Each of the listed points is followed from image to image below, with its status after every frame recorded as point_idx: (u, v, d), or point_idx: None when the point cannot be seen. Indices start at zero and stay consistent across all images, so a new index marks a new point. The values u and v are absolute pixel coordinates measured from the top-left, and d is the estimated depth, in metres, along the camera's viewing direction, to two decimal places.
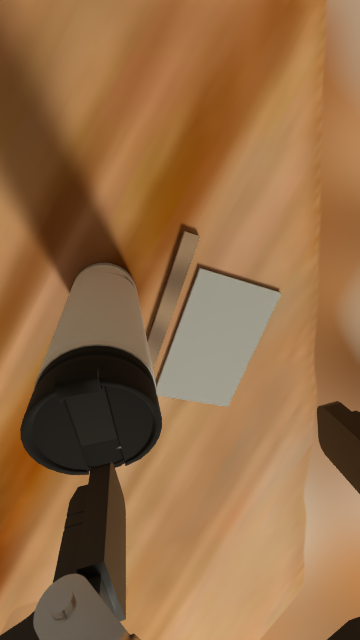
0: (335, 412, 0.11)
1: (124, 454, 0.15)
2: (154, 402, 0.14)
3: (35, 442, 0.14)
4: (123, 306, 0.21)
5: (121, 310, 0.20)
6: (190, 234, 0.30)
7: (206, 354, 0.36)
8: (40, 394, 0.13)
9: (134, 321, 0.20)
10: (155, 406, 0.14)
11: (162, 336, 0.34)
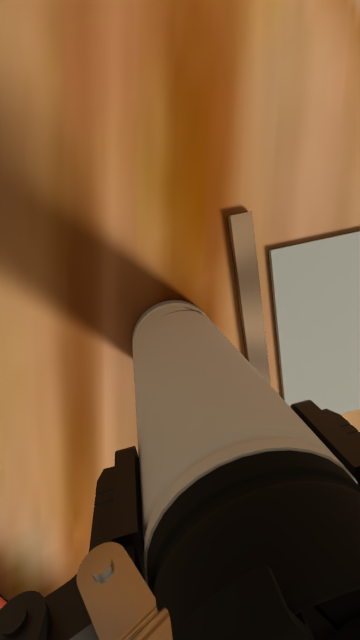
0: (305, 410, 0.11)
1: None
2: None
3: None
4: (212, 353, 0.13)
5: (214, 362, 0.12)
6: (238, 215, 0.22)
7: (329, 351, 0.26)
8: None
9: (241, 370, 0.12)
10: None
11: (264, 355, 0.25)
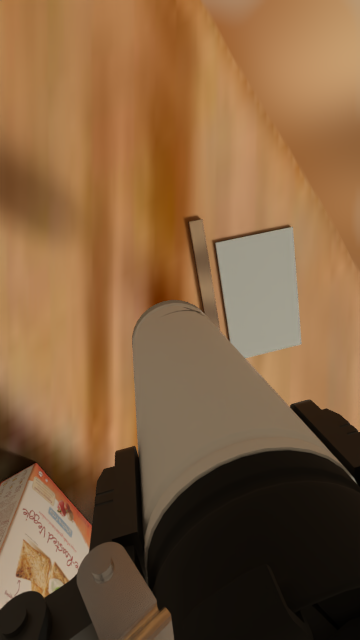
0: (305, 410, 0.11)
1: None
2: None
3: None
4: (212, 354, 0.13)
5: (213, 363, 0.12)
6: (194, 221, 0.37)
7: (257, 308, 0.41)
8: None
9: (241, 370, 0.12)
10: None
11: (215, 310, 0.40)
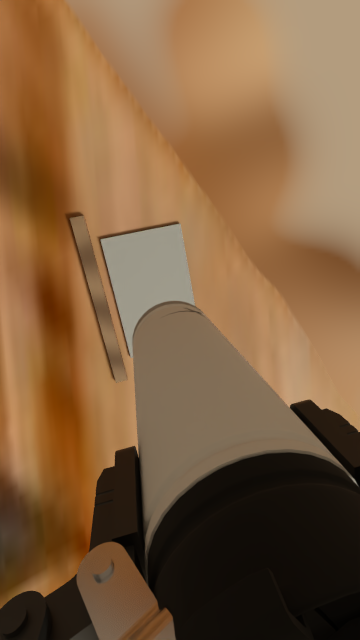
0: (305, 410, 0.11)
1: None
2: None
3: None
4: (212, 355, 0.13)
5: (214, 364, 0.12)
6: (75, 218, 0.37)
7: (151, 305, 0.41)
8: None
9: (242, 371, 0.12)
10: None
11: (105, 306, 0.40)
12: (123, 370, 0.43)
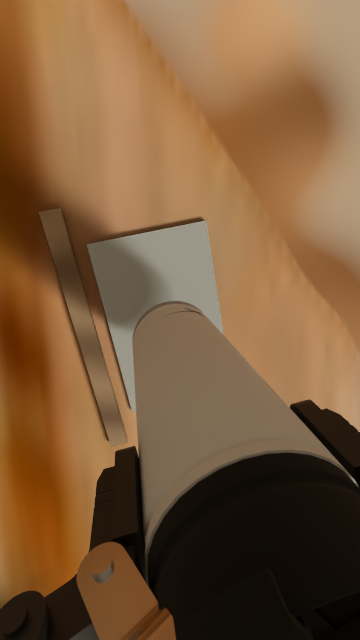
0: (305, 410, 0.11)
1: None
2: None
3: None
4: (212, 355, 0.13)
5: (214, 364, 0.12)
6: (47, 211, 0.24)
7: None
8: None
9: (242, 371, 0.12)
10: None
11: (95, 342, 0.27)
12: (121, 430, 0.30)
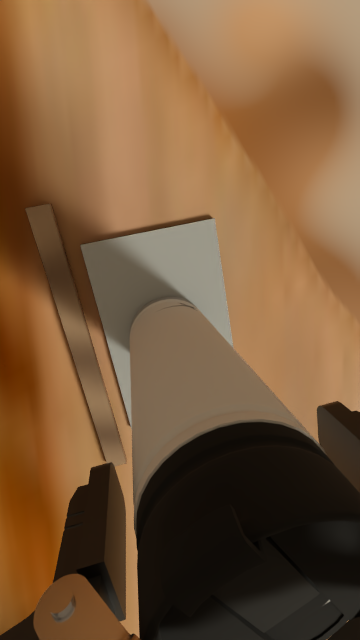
0: (335, 412, 0.11)
1: (345, 612, 0.08)
2: None
3: None
4: (201, 343, 0.14)
5: (202, 351, 0.13)
6: (35, 208, 0.21)
7: None
8: (148, 599, 0.06)
9: (227, 357, 0.13)
10: None
11: (91, 354, 0.24)
12: (120, 449, 0.27)
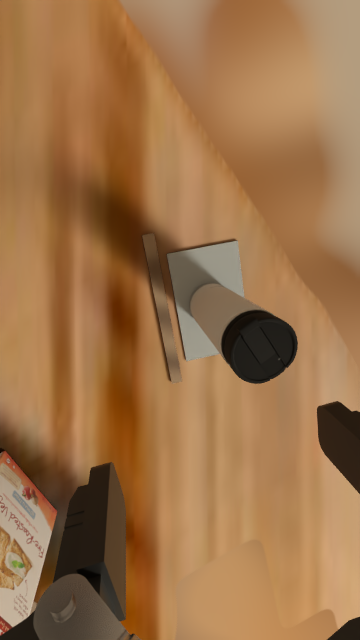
0: (335, 412, 0.11)
1: (283, 361, 0.27)
2: (286, 323, 0.26)
3: (238, 369, 0.27)
4: (236, 296, 0.34)
5: (237, 298, 0.33)
6: (146, 235, 0.41)
7: None
8: (232, 340, 0.26)
9: (247, 300, 0.33)
10: (288, 324, 0.26)
11: (167, 314, 0.44)
12: (179, 372, 0.47)
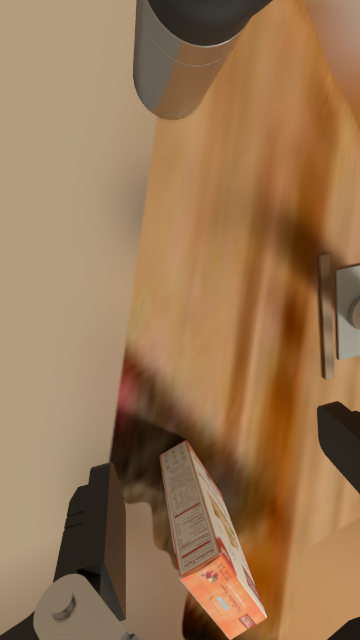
0: (335, 412, 0.11)
1: None
2: None
3: None
4: None
5: None
6: (324, 255, 0.49)
7: None
8: None
9: None
10: None
11: (331, 321, 0.52)
12: (333, 370, 0.55)
